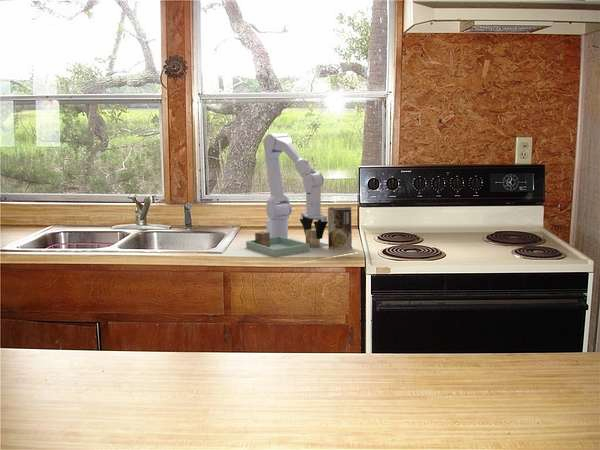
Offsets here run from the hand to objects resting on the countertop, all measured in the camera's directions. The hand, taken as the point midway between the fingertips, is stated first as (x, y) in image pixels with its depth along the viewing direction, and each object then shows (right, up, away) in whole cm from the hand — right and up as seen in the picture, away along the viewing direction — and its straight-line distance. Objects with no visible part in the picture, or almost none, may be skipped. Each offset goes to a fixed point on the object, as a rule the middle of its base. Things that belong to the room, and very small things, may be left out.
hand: (313, 237), depth 256 cm
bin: (-14, -5, -7) cm, 17 cm away
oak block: (0, -3, 0) cm, 3 cm away
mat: (0, -4, +1) cm, 4 cm away
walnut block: (-20, -4, -4) cm, 21 cm away
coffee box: (+10, -5, -5) cm, 12 cm away
